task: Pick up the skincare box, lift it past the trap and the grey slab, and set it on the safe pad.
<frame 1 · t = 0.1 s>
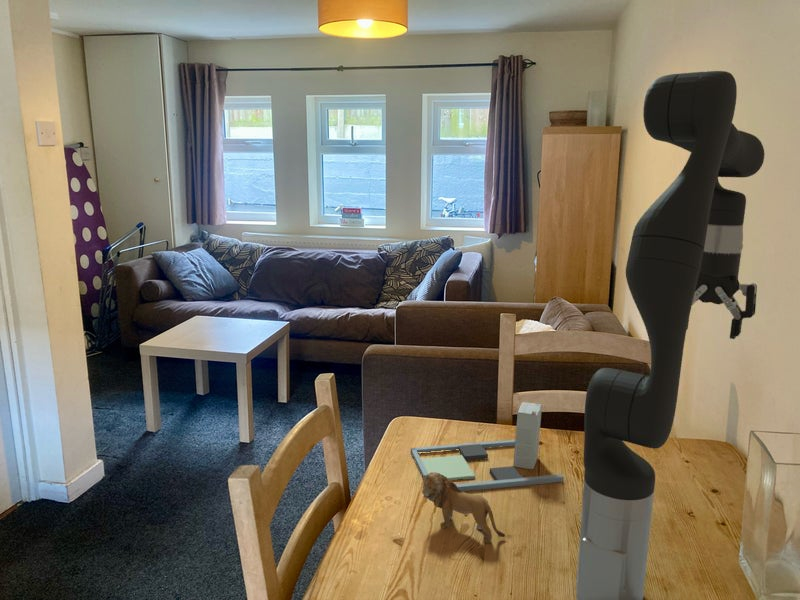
hand: (708, 333, 120), 29 cm above the table, tool pointing down, fingers open, 8 cm apart
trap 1: (505, 477, 124), on the table
safe pad: (447, 469, 128), resting in lane rails
grey slab 2: (472, 454, 134), resting in lane rails
lane rails: (484, 466, 129), on the table
skincare box: (526, 463, 131), on the table
lion figurine: (459, 529, 107), on the table
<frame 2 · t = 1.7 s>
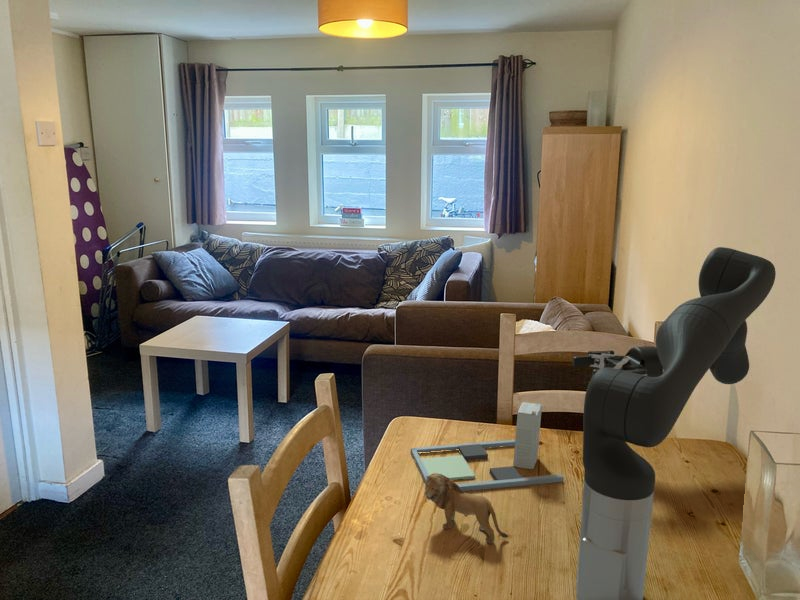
hand: (582, 368, 129), 20 cm above the table, tool horizontal, fingers open, 8 cm apart
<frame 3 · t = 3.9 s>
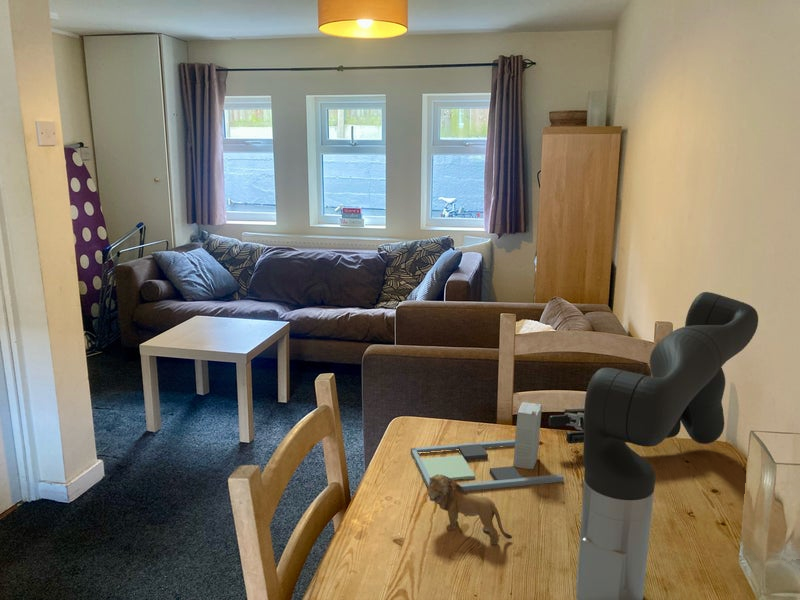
hand: (558, 429, 131), 7 cm above the table, tool horizontal, fingers open, 8 cm apart
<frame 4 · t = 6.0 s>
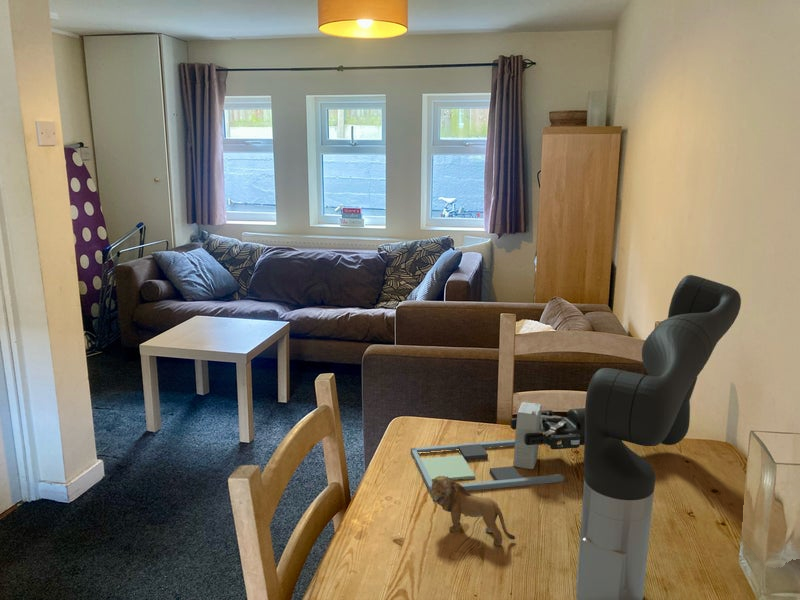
hand: (518, 431, 129), 7 cm above the table, tool horizontal, fingers closed on skincare box, 7 cm apart
skincare box: (526, 463, 131), on the table, touching gripper
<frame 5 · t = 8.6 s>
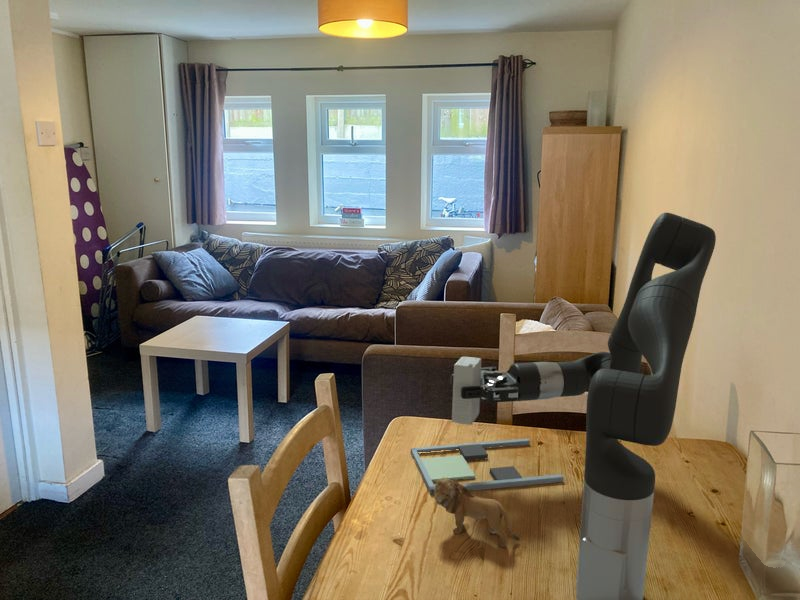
hand: (456, 386, 124), 18 cm above the table, tool horizontal, fingers closed on skincare box, 7 cm apart
skincare box: (466, 419, 126), point 10 cm above the table, touching gripper
when the fingers open (9 cm above the table, at t = 11.3 s): skincare box drops 1 cm, resting on safe pad.
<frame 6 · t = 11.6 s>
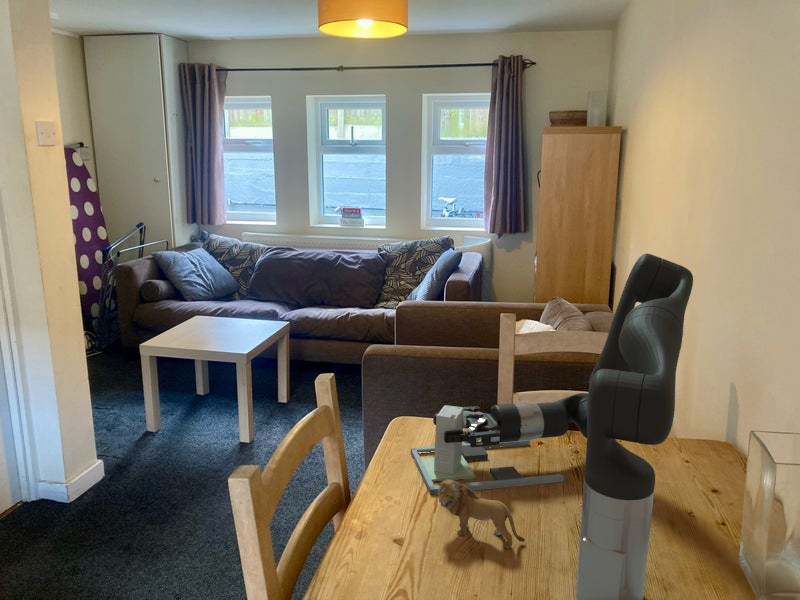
hand: (438, 428, 125), 9 cm above the table, tool horizontal, fingers open, 8 cm apart
skincare box: (448, 468, 127), resting on safe pad
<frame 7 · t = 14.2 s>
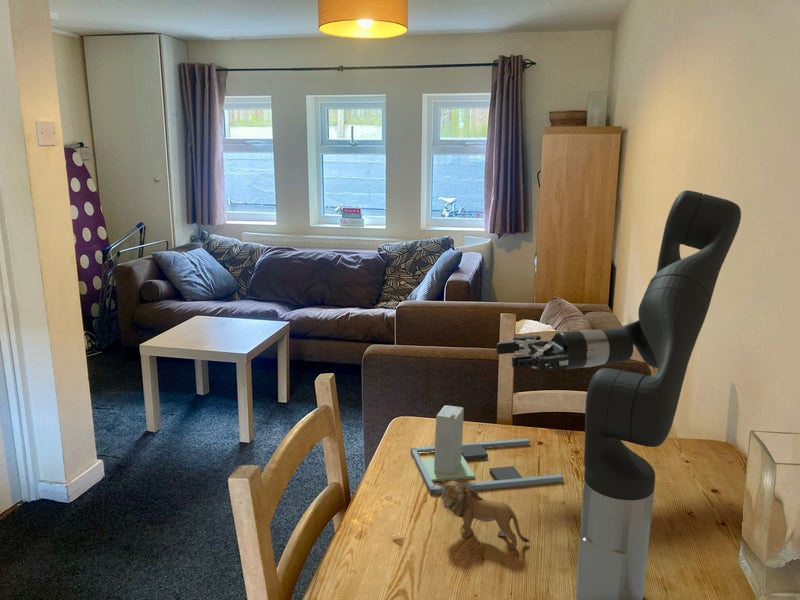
hand: (504, 355, 124), 24 cm above the table, tool horizontal, fingers open, 8 cm apart
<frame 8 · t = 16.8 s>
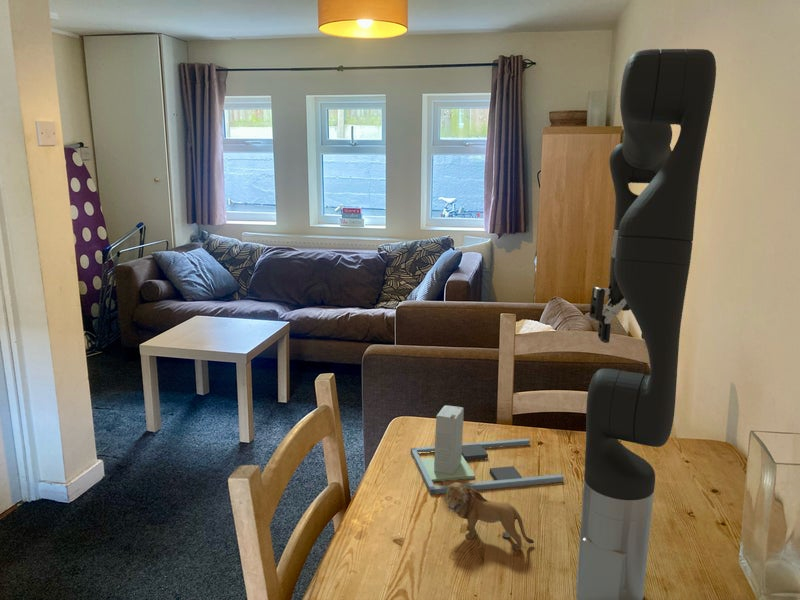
hand: (625, 340, 119), 28 cm above the table, tool pointing down, fingers open, 8 cm apart
at the end: skincare box 0.3 cm from the safe pad (horizontally); skincare box tilted 0°; the gripper is holding nothing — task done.
